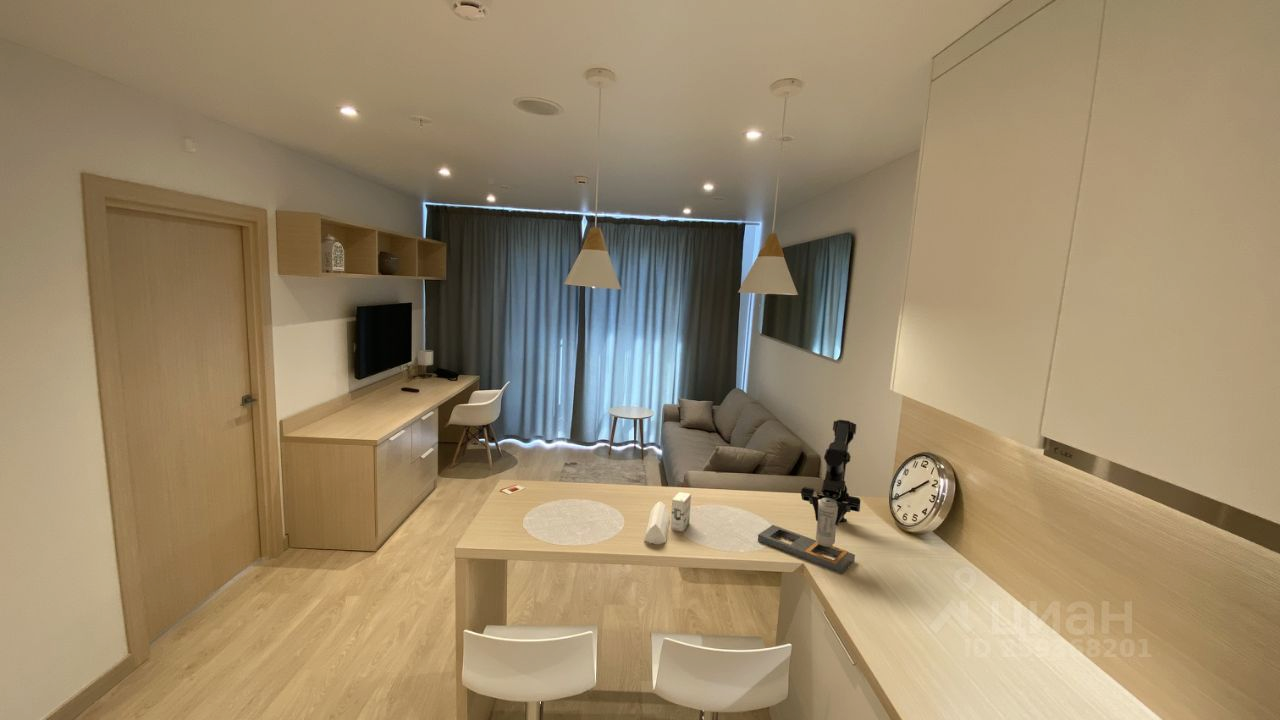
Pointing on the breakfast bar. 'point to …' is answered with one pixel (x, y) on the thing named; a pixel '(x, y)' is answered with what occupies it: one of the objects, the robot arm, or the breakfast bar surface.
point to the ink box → (680, 511)
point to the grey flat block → (807, 549)
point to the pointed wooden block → (657, 524)
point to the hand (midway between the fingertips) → (826, 522)
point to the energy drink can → (826, 522)
